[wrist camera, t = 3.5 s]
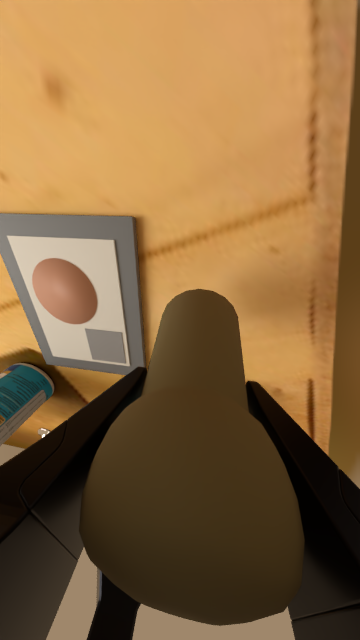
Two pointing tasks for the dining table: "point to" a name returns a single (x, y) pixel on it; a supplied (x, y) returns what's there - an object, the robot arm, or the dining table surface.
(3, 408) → the beverage bottle
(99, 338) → the drawing board
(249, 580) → the brown tapered upright piece
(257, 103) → the dining table surface
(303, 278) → the dining table surface
